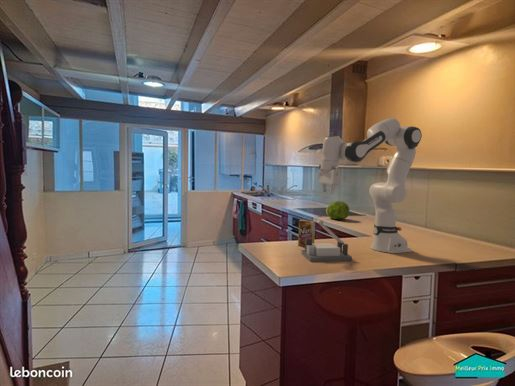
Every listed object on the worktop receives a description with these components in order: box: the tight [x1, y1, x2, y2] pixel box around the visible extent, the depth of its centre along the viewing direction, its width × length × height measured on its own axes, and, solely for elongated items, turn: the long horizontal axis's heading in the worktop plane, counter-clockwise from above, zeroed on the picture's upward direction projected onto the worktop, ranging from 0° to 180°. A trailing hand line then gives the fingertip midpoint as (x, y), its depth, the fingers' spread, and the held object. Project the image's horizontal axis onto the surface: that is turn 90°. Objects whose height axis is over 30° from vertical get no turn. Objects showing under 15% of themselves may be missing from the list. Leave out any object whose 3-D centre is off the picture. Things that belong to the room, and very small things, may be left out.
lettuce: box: [325, 200, 350, 221], centre depth 293 cm, size 17×23×17 cm
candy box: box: [297, 219, 316, 248], centre depth 187 cm, size 9×4×15 cm, turn 56°
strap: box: [315, 218, 345, 246], centre depth 165 cm, size 18×4×2 cm
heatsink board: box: [301, 238, 353, 262], centre depth 166 cm, size 22×14×9 cm, turn 100°
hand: (327, 192), depth 167 cm, fingers open, 8 cm apart
